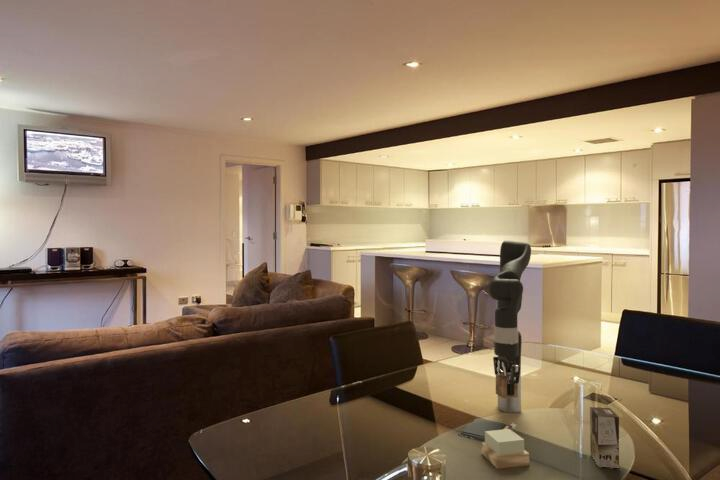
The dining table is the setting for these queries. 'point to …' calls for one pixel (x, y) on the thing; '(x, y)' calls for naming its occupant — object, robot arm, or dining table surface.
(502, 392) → the walnut block
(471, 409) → the dining table surface
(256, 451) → the dining table surface
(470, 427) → the dark grey book
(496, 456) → the tower base
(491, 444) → the tower top
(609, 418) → the coffee box
